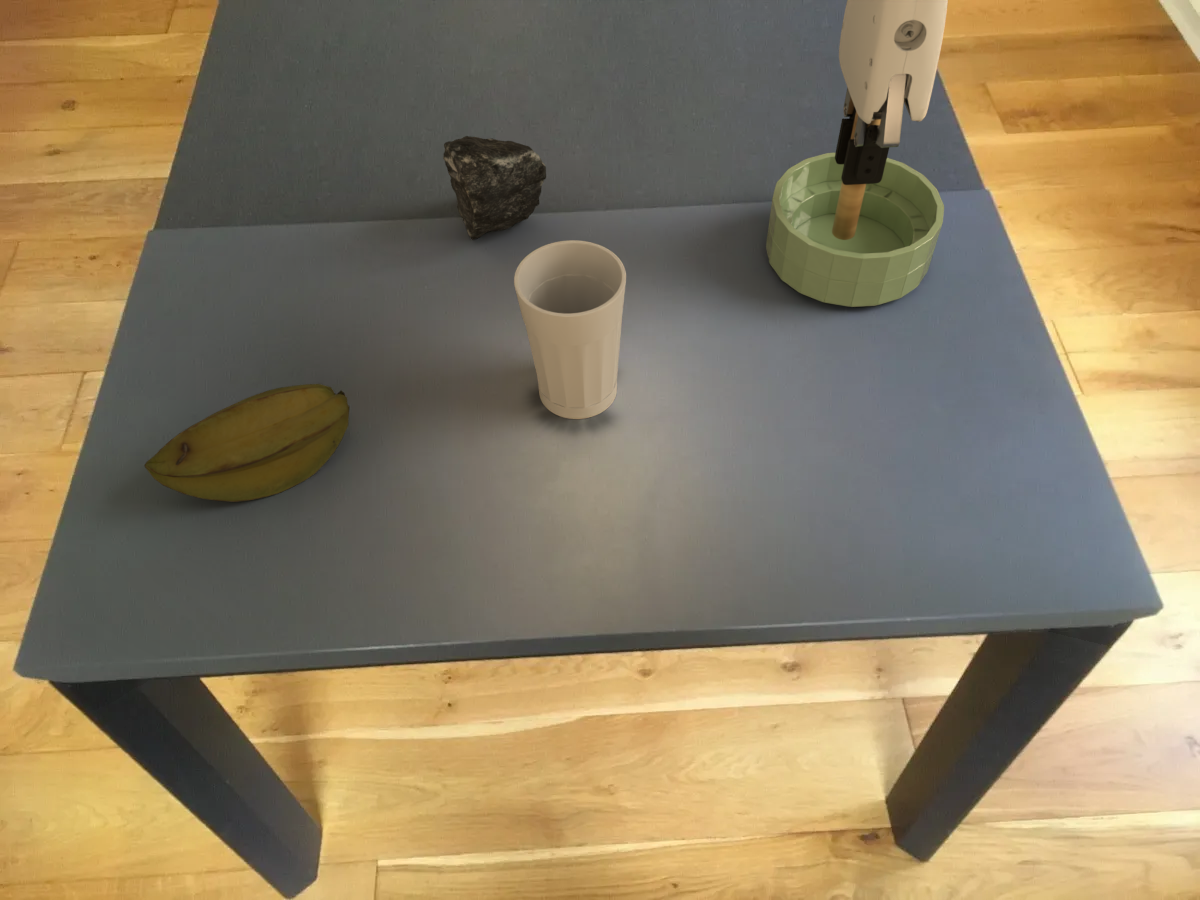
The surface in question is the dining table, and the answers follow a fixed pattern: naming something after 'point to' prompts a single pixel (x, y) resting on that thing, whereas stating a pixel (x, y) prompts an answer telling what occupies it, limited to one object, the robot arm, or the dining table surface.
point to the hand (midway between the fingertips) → (857, 170)
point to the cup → (573, 324)
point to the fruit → (255, 445)
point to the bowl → (879, 247)
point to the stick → (849, 203)
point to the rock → (493, 182)
